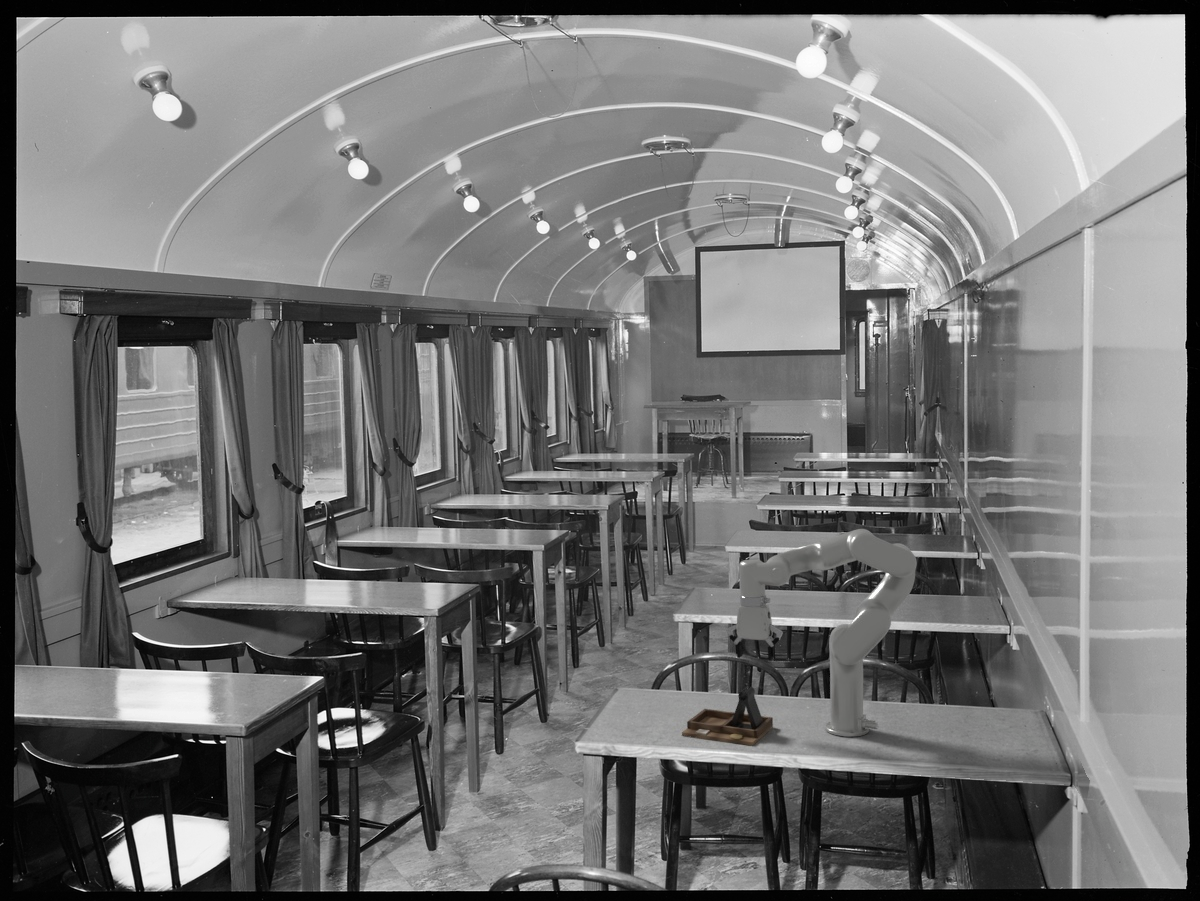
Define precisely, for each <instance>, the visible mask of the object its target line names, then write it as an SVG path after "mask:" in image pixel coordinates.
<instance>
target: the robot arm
mask: <svg viewBox="0 0 1200 901" xmlns="http://www.w3.org/2000/svg"><path fill="white" fill-rule="evenodd" d="M856 561H858V562H860V563H862V564H864V565H867V566H869V567H870V568H873V569H876V570H878V571H880V572H883V573H884V576H883V578H882V580H880V582H879V583H878V585H877V586H876V587H875V588H874V589H873V590H872V591H871V592H870V593H869V594H868V595H867V597H866V598H865V599H863V600H862V601H861V603H860V604H859V605H858V606H857V607H856V608H855V613H854V616H855V617H854V619H853V620H852V621H851V622H850V623H849V624H848V623H844V624H843V623H842V624H839V625H837V626H835V628H833V629H832V631H831V633H830V635H829V639H828V640H829V642H828V644H829V645H828V646H829V671H830V672H829V673H830V675H829V676H830V677H829V682H830V684H829V687H830V688H829V689H830V690H829V691H830V692H829V694H830V696H829V697H830V701H829V702H830V706H829V707H830V708H829V709H830V721H828V722H826V723H825V725H824V726H825V727H824V728H825V731H826V732H827V733H829V734H831V735H835V736H839V737H846V738H847V737H851V738H852V737H861V736H864V735H866V734H868V733H869V731H870V730H869V729H871V730H878V727H879V724H878V722H876V720H872V719H871V720H870V719H868V718H867V714H864V660H863V659H864V658H866V657H867V655H869V653H870V652H871V651H872V650H873V649H874V648H875V647H876V646H877V645H878V644H879V643H880V642H881V641H882V640H883V639H884V637H886V635H887V633H888V632H889V630H890V628H891V625H892V617H891V616H892V615H894V613H895V612H896V611H897V610H898V609H899V608H900V606H901V605H902V604H903V603H904V602H905V600H907V598H908V596H909V595H910V593H911V592H912V589H913V587H914V584H915V580H916V569H917V564H918V563H917V559H916V555H915V554H914V553H913V551H912V550H911V549H910V548H909V547H908V546H907V545H905V544H903V543H900V542H899V543H897V542H895V543H890V542H888V541H886V540H884V539H881V538H879V537H877V536H875V535H874V534H873V533H872V532H871V531H869V530H868V529H866V528H858V529H854V530H851V531H847V532H845V533H842V534H839V535H837V536H833V537H830V538H827V539H823V540H822V541H819V542H815V543H810V544H808V545H805V546H800V547H796V548H793V549H789V550H787V551H784V552H781V553H778V554H775V555H773V556H771V557H770V558H768V559H767V561H766V562H763V561H762V560H760V559H745V560H741V561H740V562H739V564H738V576H739V577H738V578H739V595H740V596H739V598H740V599H739V600H740V604H739V605H738V608H737V614H736V615H737V616H736V624H734V625H731V626H730V627H728V628H726V629H725V631H726V633H727V636H728V637H729V639H730V640H731V641H732V642H733V644H734V646H735V655H736V656H737V659H738V658H739V659H740V658H741V657H742V656H743V653H744V652H743V651H744V650H743V643H742V640H755V641H765V642H766V643H767V644H768V646H767V656H768V657H767V659H768V660H769V661H771V660H773V659H774V657H776V656H775V655H776V651H775V650H776V646H775V645H776V644H777V643H778V642H779V641H780V640H781V637H782V636H783V634H784V631H783V630H781V629H779V628H778V627H776V626H774V625H773V622H772V615H771V614H772V613H771V610H770V606H769V605H768V603H771V598H770V597H767V595H766V586H773V587H781V586H785V585H786V584H788V582H789V580H790V579H791V576H795V575H796V574H801V573H805V572H807V571H829V570H832V569H835V568H838V567H840V566H843V565H845V564H848V563H852V562H856ZM735 630H736V635H735V634H734V632H733V631H735ZM773 633H775V634H776V635H775V638H773V637H772V636H773Z"/></svg>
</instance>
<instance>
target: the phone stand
mask: <svg viewBox="0 0 1200 901" xmlns="http://www.w3.org/2000/svg"><path fill="white" fill-rule="evenodd" d="M755 693H756V691H755V689H754V687H753V686H749V685H747V686H745V688H743V689H742V690H741V691H739V693H738V703H737V705H736V707H735V710H734V716H733V719H732V722H731V725H730V727H737V728H745V729H752V730H756V729H757V728H758V727H759V726H760V725H761V724H762V723H763V720H762V717H761V716H762V714H761V710H760V709H759V705H758V702H757V700H756V696H755ZM745 711H746V712H747V714H748V716H749V720H750V724H745V723H742V720H743V716H744V714H745Z"/></svg>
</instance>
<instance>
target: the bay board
mask: <svg viewBox="0 0 1200 901" xmlns="http://www.w3.org/2000/svg"><path fill="white" fill-rule="evenodd" d="M734 713H735V711H734V712H733V711H726V710H725V711H724V710H719V709H708V708H704V709H702V710H701V711H699V712H698V713H697V714H695V715H694V716H693V717H692V718H690V719H688V720H687V721H686V722H687V724H686V729H684V730H682V732H681V736H682V735H685V736H684V737H688V736H691V737H690V738H695V737H697V738H696V739H702V738H703V740H708V741H716V742H717V741H718V742H724V743H730V744H731V743H732V744H738V745H745V746H752V747H753V746H755V744H757V743H758V742H759V741H760V740H761V739H762V738H763V737H764V736H765V735H766V734H767V733H768V732H770V731H771V729H772V728H773V727H774V724H773V717H771V716H763V715H761V717H762V720H763V723H762V724H761V725H760V726H759V727H758V728H757V729H756V730H752V729H745V728H737V727H730V725H731V722H732V719H733V716H734ZM742 723H745V724H750V720H749V716H748V713H744V716H743V720H742Z"/></svg>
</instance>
